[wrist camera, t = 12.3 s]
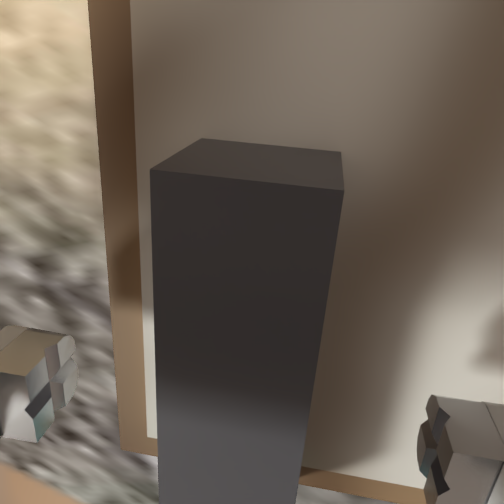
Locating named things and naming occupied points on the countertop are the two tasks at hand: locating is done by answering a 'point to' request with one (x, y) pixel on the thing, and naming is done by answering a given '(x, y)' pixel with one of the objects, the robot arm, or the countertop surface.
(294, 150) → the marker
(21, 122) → the countertop surface
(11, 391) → the robot arm
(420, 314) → the board
